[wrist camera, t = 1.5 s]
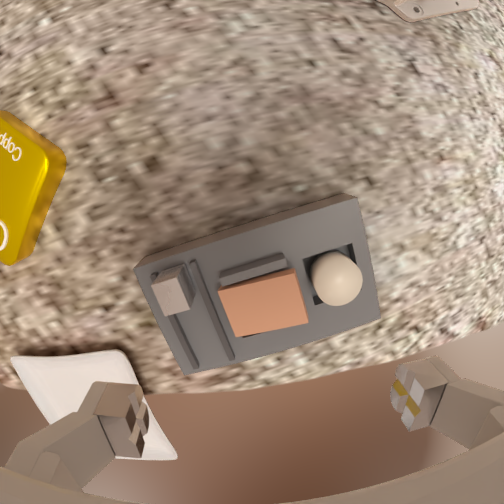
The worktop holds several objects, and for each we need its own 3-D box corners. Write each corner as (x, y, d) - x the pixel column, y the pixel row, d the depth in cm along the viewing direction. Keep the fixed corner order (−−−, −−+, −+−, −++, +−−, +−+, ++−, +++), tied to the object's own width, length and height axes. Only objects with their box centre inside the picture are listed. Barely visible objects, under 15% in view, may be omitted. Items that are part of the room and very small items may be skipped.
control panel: (344, 193, 32) (363, 199, 26) (368, 302, 35) (386, 325, 30) (145, 256, 33) (127, 274, 28) (189, 355, 36) (181, 384, 31)
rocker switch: (294, 267, 28) (294, 273, 27) (308, 316, 29) (308, 322, 28) (220, 285, 29) (217, 291, 28) (238, 330, 31) (235, 337, 30)
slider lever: (184, 263, 29) (176, 277, 25) (196, 292, 30) (190, 309, 26) (161, 271, 29) (150, 285, 25) (173, 299, 30) (164, 316, 26)
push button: (347, 244, 30) (357, 253, 27) (356, 285, 31) (366, 296, 28) (304, 258, 30) (310, 268, 27) (315, 298, 31) (321, 312, 28)
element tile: (74, 156, 30) (51, 157, 26) (31, 262, 33) (9, 274, 29) (2, 106, 28) (-21, 103, 23) (-32, 204, 31) (-54, 210, 26)
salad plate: (183, 446, 42) (180, 462, 39) (77, 442, 43) (70, 455, 39) (131, 335, 36) (122, 350, 33) (18, 345, 37) (7, 356, 34)
